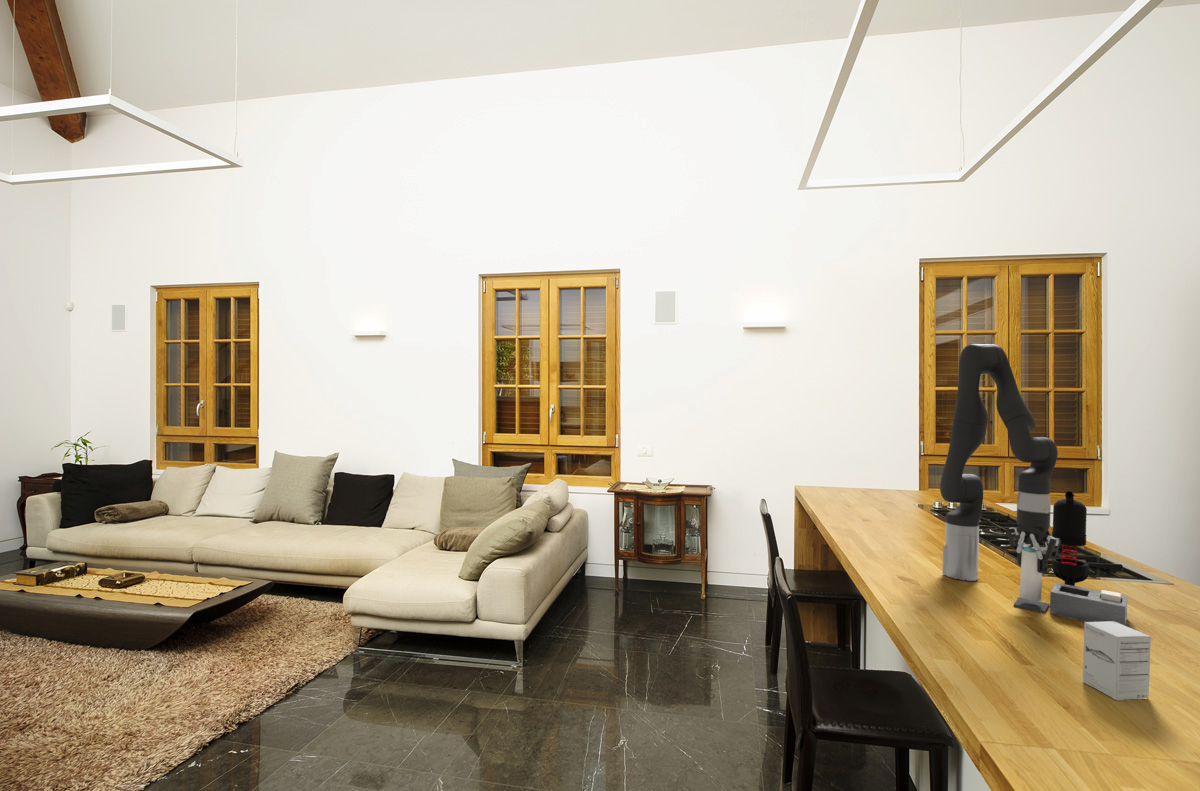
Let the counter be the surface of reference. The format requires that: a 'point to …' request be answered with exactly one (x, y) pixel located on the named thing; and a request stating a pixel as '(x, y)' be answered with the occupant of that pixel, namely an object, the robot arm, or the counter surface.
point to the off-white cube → (1111, 596)
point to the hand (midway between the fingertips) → (1032, 569)
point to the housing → (1086, 605)
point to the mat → (1031, 605)
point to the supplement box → (1116, 660)
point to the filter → (1070, 538)
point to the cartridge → (1030, 575)
